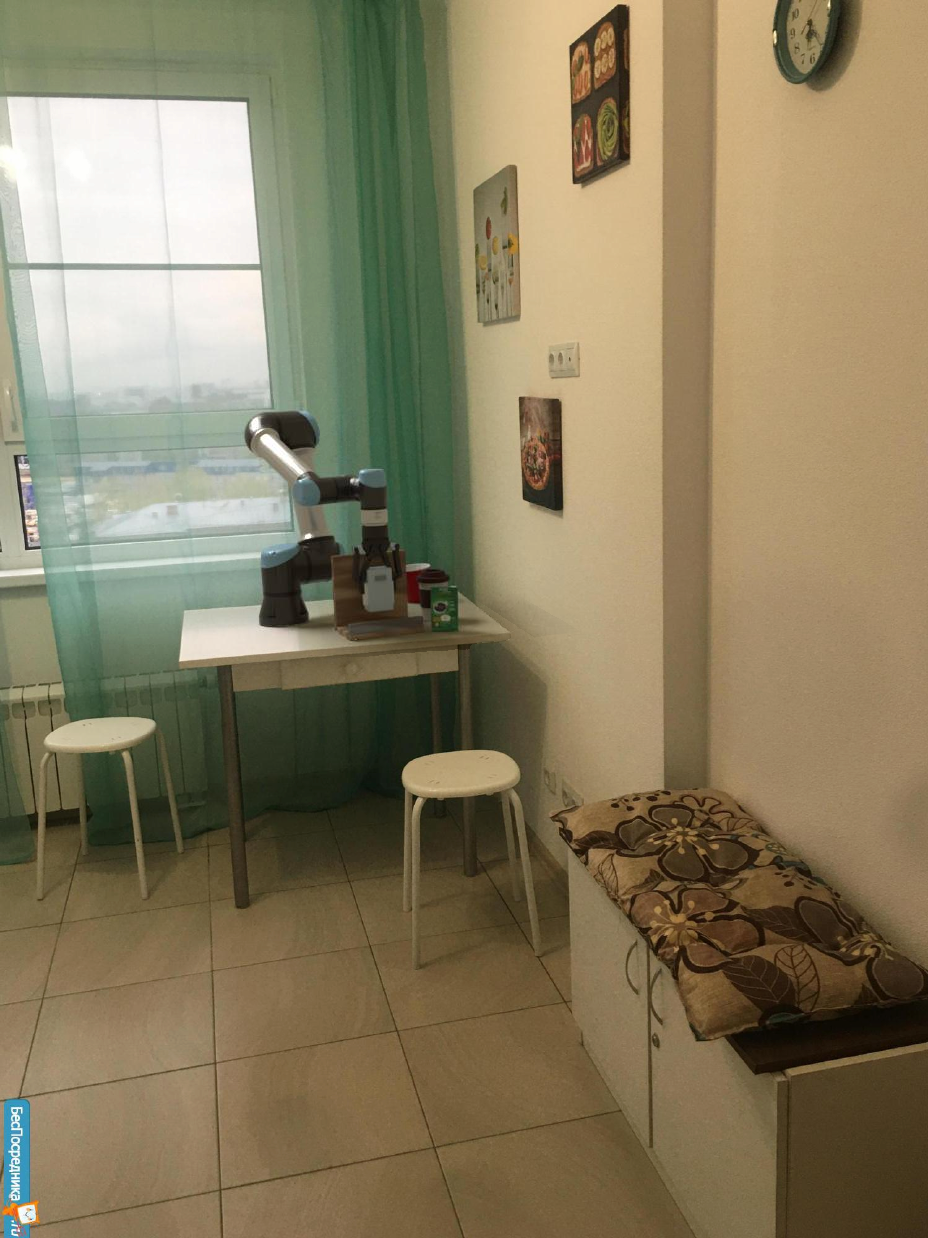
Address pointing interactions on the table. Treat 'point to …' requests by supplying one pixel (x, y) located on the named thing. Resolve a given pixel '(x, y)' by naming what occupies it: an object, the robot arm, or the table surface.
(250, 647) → the table surface
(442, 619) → the coffee box
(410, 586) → the plastic cup
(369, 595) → the small blue-gray block
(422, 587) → the coffee cup
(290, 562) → the robot arm
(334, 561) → the brown wooden display stand
